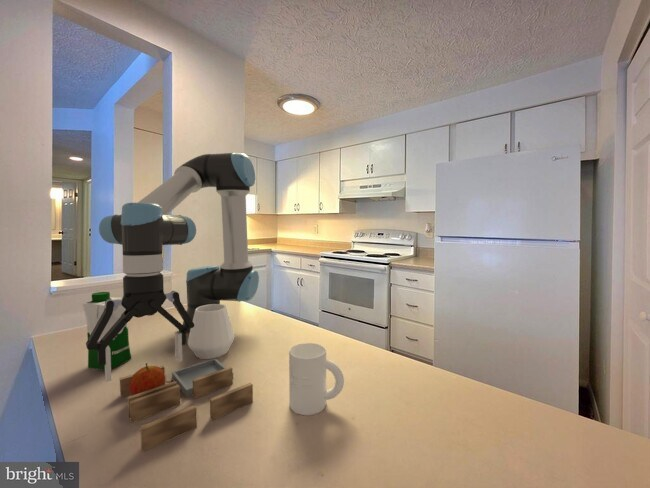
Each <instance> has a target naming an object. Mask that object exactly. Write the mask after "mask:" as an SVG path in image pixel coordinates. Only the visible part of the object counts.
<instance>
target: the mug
mask: <svg viewBox="0 0 650 488" xmlns="http://www.w3.org/2000/svg"><path fill="white" fill-rule="evenodd" d="M288 355H289V356H288V364H289V366H288V369H289V370H288V371H289V384H288V385H289V387H288V388H289V389H288V390H289V407H290V409H291V410H292V412H294V413H295V414H297V415H300V416H312V415H317V414H318V413H320V412H322V411H323V410H324V409H325V408H326V406H327V401H328V400H332V399H335V398H336V397H338V395H339V394H341V392H342V391H343V389H344V386H345V377H344V374H343V371H342V370H341V368H340V366H339V365H338V364H336V362H334V361H332V360H330V359H327V349H326V347H324V346H323V345H321V344H319V343H314V342H313V343H312V342H305V343H299V344H296V345H294V346H291V348H290V349H289V351H288ZM327 370H328V371H329V372H331V374H332V376H333V377H334V380H335V381H334V385H333V386H332V387H331V388H330V389H327Z"/></svg>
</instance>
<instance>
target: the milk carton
mask: <svg viewBox="0 0 650 488" xmlns="http://www.w3.org/2000/svg"><path fill="white" fill-rule="evenodd" d="M122 298H123V297H112V296H111V295H110V291H99V292H98V291H97V292H93V293H92V294H91V300H89V301H87V302H83V303H82V307H83V311H84V314H85V317H86V331H87V333H86V334H87V340H88V339H89V337H90V335H91V333H92V331H93V329H94V328H95V326H96V324H97V322H98V320H99V319H100V317H101V315H102V313H103V311H104V308H105V301H106V300H107V299H111V300H122ZM125 310H126V309H125V308H124V307H123V306H122V305H120V306H118V308H117V310H115V311H113V313H112V315H111V317H110V319H109V321H108V323H107V325H106V327H105V328H104V330H103V332H102V334H101V336H100V338H99V340H98V341H97V342H99V341H100V340H101V339H102V338H103V337H104V335H105V334H106V333H107V332H108V331H109V330H110V328H111V327H112V326H113V325H114V324H115V323H116V321H117V320H118V319H119V318H120V317H121V315H122V314H123V312H124V311H125ZM108 346H109V347H110V351H111V370H113V369H115V368H116V367H119V366H120V364H121V365H123V364H125V363H127V362H128V361H130V360H132V354H131V347H130V341H129V322H127V324H126V325H125V326H124V327H123V328H122V330H121V331H120V332H119V333H118V334H117V335H116V337H115V338H114V339H113V340H112V341H111V343H110V344H109V345H108ZM122 363H123V364H122ZM87 368H88V369H94V370H101V369H102V371H103V370H104V371H105V365H102V366H100V365H99V363H98V351H97V350H94V349H92V350H88V349H87Z"/></svg>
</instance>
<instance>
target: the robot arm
mask: <svg viewBox="0 0 650 488" xmlns="http://www.w3.org/2000/svg"><path fill="white" fill-rule="evenodd" d="M255 181H256V172H255V168H254V163H253V162H252V160H251V158H250V157H249V156H248V155H247V154H245V153H242V152H240V153H239V152H224V153H206V154H205V153H204V154H201V155H198V156H196V157H194V158H192V159H189V160H188V161H186V162H184V163H183V164H181V165H180V166H178V167H176V169H175V171H174V173H173V175H172V176H171V177H170V178H168V179H166V181H164V182H163V183H162V184H160V185H158V187H156V188H155V189H154V190H152V191H151V192H149V193H148V194H147V195H146V196H144V197H143V198H142V199H140V200H139V201H137V202H126V203H124V204H123V205H122V207H121V214H111V215H106V216H104V217H103V218H102V219H101V220H100V222H99V224H98V225H99V226H98V233H99V235H100V236H101V238H102V240H103V241H104V242H106V243H108V244H114V245H115V244H116V245H122V273H123V274H125V275H124V276H123V277H122V283H123V285H122V288H123V289H122V291H123V293H122V294H123V296H122V297H121V298H122V300H111V299H107V300H106V301H105V308H104V311H103V313H102V315H101V317H100V319H99V320H98V322H97V324H96V326H95V328H94V329H93V331H92V333H91V335H90V337H89V339H88V338H87V340H86V342H85V346H86V349H87V351H88V350H92V349H94V350H97V351H98V363H99V365H100V366H102V365H105V370H104V378H105V381H106V383H108V382H111V381H112V369H111V351H110V347H109V346H108V345H109V344H110V343H111V341H112V340H113V339H114V338H115V337H116V335H117V334H118V333H119V332H120V331H121V330H122V328H123V327H124V326H125V325H126V324H127V322H128V323H129V322H131V320H132V319H133V318H137V319H138V318H143V317H145V316H148V317H149V316H150V317H151V316H154V315H155V314H157V313H159V315H161V317H164V318H165V320H167V321H169V322H170V324H172V325H173V326H174V327H175V328H176V329H177V330H175V331H174V350H175V351H174V355H175V359H176V360H177V361H178V362H181V361H183V346H185V345H186V344H187V333H190V330H191V328H193V327H194V323H193V317H194V313H195V310H196V308H198V307H200V306H203V305H209V304H221V301H224V302H225V301H226V302H227V301H228V302H232V301H233V302H239V303H240V302H249V301H251V300H252V299H253V298H254V297H255V296H256V293H257V290H258V288H259V282H260V276H259V272H258V271H257V270H255V269H253V268H254V267H253V266H254V265H253V263H252V262H251V261H249V251H248V249H249V247H248V222H247V195H249V194H250V192H251V191H250V190H251V189H250V187H253V186H254V185H255V184H256V183H255ZM204 188H205V189H206V188H215V189H216V193H217V194H219V196H220V199H221V201H220V203H221V218H222V219H221V222H222V223H221V224H222V243H223V245H222V247H223V263H221V264H220V266H219V265H217V264H214V265H205V266H201V267H195V268H191V269H188V271H187V272H186V279H185V283H186V303H187V305H186V306H187V307H186V308H185V307H184V305H183V304H182V302H181V298H180V293H179V292H178V291H176V290H172V291H171V292H168V293H165V291H164V290H165V289H164V274H163V273H162V272H163V270H164V259H163V258H164V255H163V246H174V245H180V246H182V245H183V244H184V245H185V244H188V243H191V242H192V241H193V240H194V238H195V237H196V234H197V226H196V223H195V222H194V221H193V220H192V219H191V218H190V217H188V216H185V215H181V214H179V215H175V214H170V213H171V212H172V211H174V210H175V208H176V207H178V206H179V205H180V204H181V203H182V202H183V201H184V200H185V199H187V198H188V197H189V196H190V195H191V194H192V193H197V192H198V191H200V190H201V189H204ZM166 300H168V301H169V302H171V303H172V304H173V306H174V308H175V309H176V311H177V313H178V314H179V315H180V317H181V319H182V320H183V321H182V323H181V322H180V321H178V319H177V318H176V317H174V315H172V314H171V313H169V311H167V310H166V309H165V308H164V307H163V306H162V305H163V304H164V303H165V302H166ZM120 305H122V306H123V307H124V308H125V309H126V310H125V311H124V312H123V314H122V315H121V317H120V318H119V319H118V320H117V321H116V323H115V324H114V325H113V326H112V327H111V328H110V330H109V331H108V332H107V333H106V334H105V335H104V337H103V338H102V339H101V340H100V341H99V342H97V341H98V340H99V338H100V336H101V334H102V332H103V330H104V328H105V327H106V325H107V323H108V321H109V319H110V317H111V315H112V313H113V311H115V310H117V308H118V306H120Z"/></svg>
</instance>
